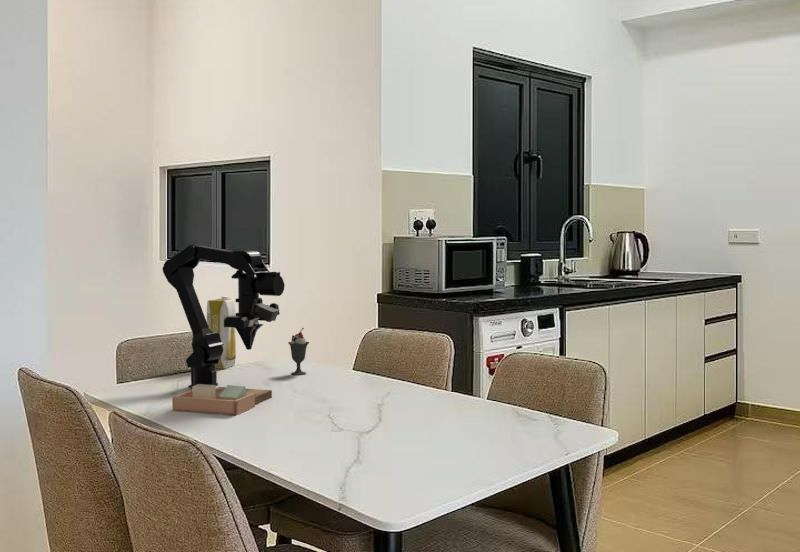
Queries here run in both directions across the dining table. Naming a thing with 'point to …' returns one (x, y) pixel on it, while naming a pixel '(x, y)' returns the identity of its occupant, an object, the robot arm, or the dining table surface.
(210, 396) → the ivory rectangular block
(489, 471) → the dining table surface
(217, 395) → the board
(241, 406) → the tray
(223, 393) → the sage green square block
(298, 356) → the sundae
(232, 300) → the juice carton
